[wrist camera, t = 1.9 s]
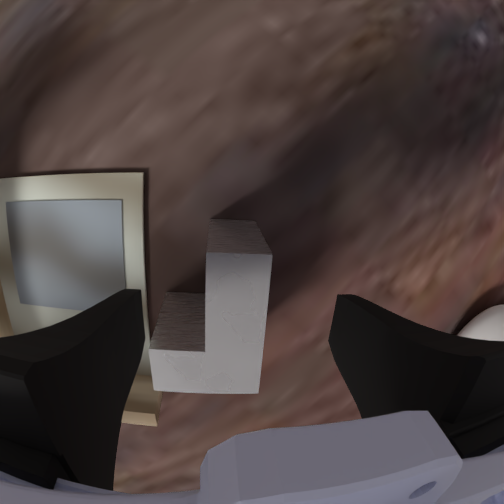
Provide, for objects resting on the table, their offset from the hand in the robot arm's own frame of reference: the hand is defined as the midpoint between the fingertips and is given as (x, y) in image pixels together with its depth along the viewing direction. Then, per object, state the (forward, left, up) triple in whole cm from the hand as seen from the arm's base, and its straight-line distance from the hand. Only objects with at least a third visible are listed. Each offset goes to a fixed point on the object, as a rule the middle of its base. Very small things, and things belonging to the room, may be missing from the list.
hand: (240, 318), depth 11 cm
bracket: (-1, +1, -7) cm, 8 cm away
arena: (-3, +11, -7) cm, 14 cm away
